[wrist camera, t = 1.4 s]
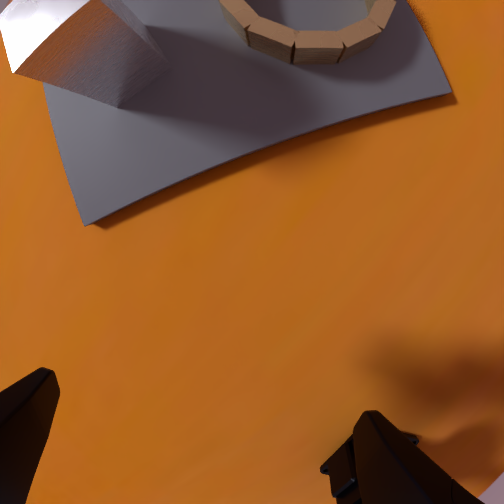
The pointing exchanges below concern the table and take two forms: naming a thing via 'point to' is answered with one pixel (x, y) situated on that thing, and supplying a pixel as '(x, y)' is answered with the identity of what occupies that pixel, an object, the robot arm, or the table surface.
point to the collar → (307, 34)
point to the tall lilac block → (82, 47)
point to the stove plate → (230, 96)
